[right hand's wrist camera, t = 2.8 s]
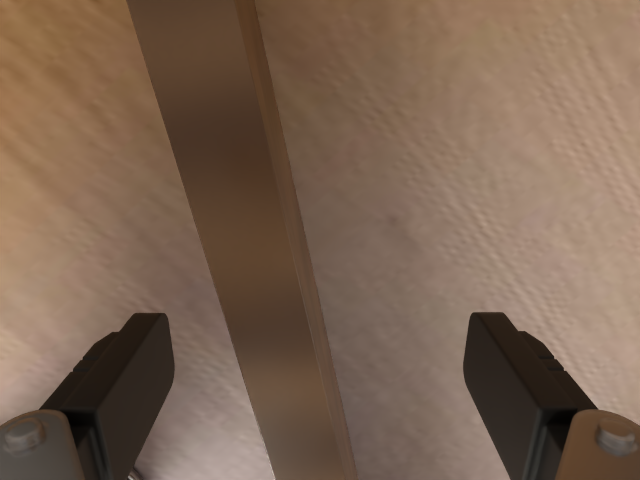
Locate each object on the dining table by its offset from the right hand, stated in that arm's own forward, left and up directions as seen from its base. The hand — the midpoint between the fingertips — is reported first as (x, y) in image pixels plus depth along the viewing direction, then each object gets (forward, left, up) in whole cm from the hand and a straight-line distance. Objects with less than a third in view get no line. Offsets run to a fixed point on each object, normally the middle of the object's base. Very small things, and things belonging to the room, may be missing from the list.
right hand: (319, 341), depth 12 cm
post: (+9, -23, -18) cm, 31 cm away
